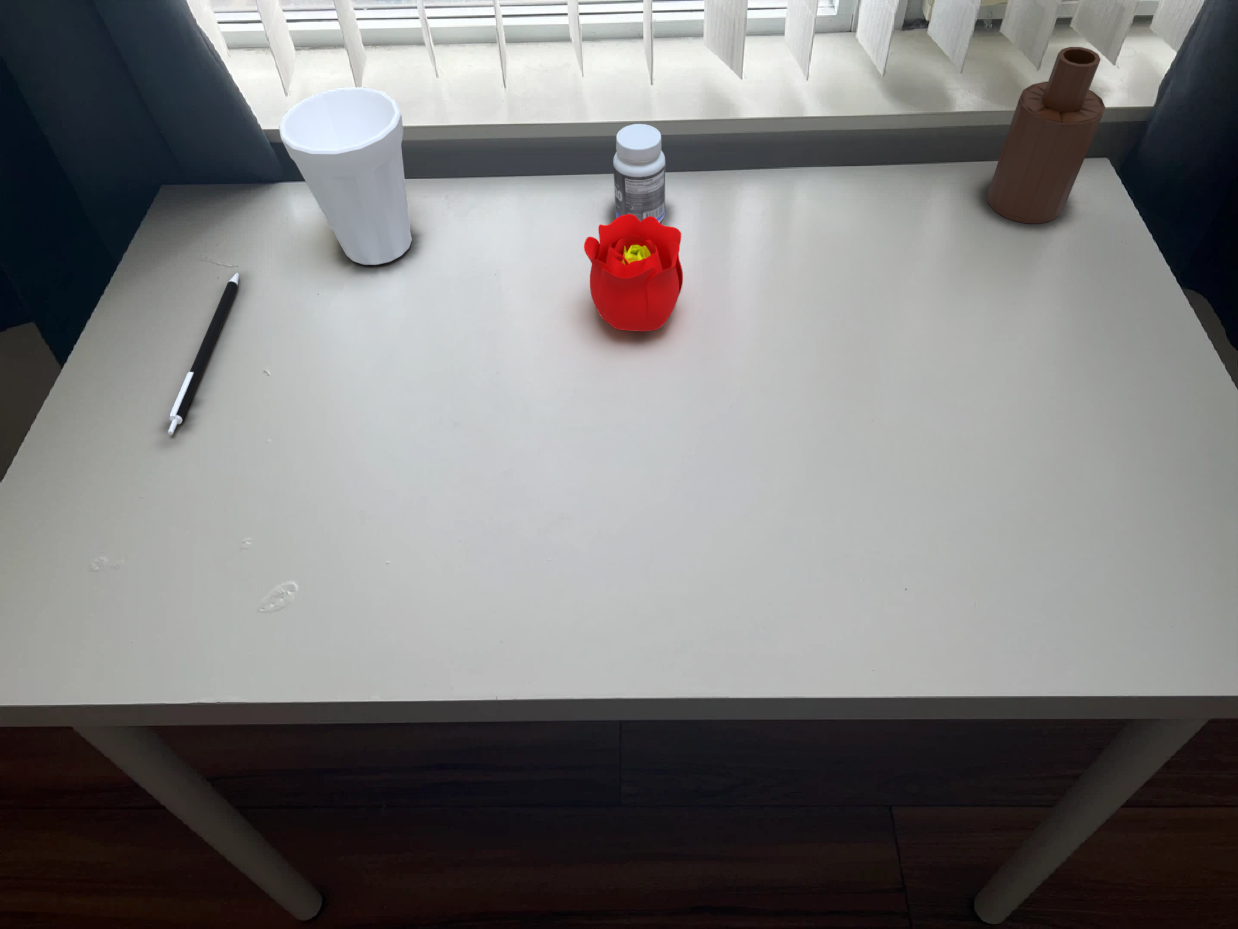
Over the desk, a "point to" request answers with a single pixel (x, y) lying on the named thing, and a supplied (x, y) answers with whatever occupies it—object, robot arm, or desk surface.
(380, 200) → the cup
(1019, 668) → the desk surface
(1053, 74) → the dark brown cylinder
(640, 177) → the pill bottle
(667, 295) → the flower
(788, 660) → the desk surface
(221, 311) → the pen
